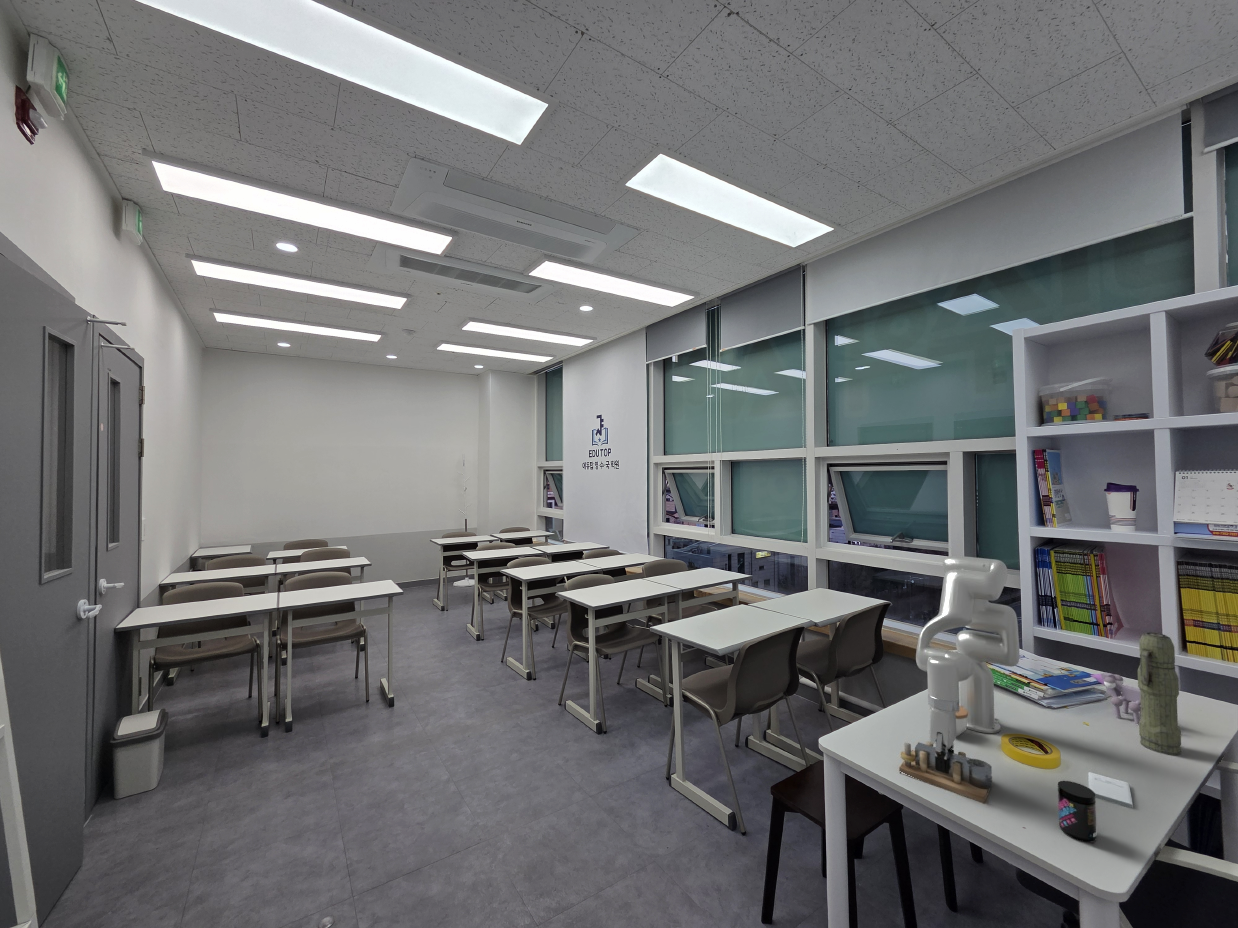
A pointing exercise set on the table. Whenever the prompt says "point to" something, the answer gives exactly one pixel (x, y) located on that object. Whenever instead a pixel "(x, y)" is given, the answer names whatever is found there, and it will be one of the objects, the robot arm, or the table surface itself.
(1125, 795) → the external hard drive
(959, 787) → the rack
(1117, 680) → the purple toy animal
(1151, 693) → the moai statue
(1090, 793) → the supplement container
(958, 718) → the lidded jar
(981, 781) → the grey long block
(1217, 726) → the table surface
